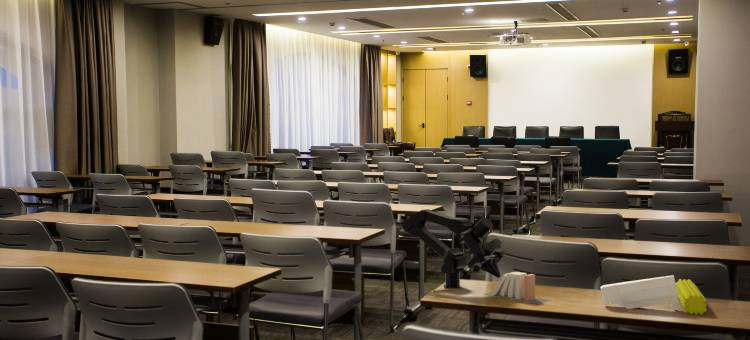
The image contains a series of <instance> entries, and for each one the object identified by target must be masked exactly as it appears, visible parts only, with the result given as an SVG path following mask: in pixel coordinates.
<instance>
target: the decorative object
mask: <svg viewBox="0 0 750 340" xmlns="http://www.w3.org/2000/svg"><path fill="white" fill-rule="evenodd" d="M675 283H676V287H677V292H678V299H679V303H681V305H682V307H683V308H684V310H685V312H687V313H688V314H689V315H700V316H703V314H704V313H706V312H707V299H706V298H705V296H704V295H703V293H702V292H701V291H700V290H699V288H698V287H697V285H696V284H695V283H694V282H693V281H692V280H691V279H681V278H679V279H678V280H677V282H676V281H675Z"/></svg>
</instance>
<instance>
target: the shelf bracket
mask: <svg viewBox="0 0 750 340" xmlns="http://www.w3.org/2000/svg"><path fill="white" fill-rule="evenodd" d="M600 293H601V297H602V303H603V304H604V305H605V306H609V305H618V306H620V307H622V306H623V307H624V308H625V309H627V310H633V309H638V308H644V307H650V306H658V305H663V304H665V303H667V302H670V306H671V307H672V308H673V309H674V310H676V311H678V312H682V311H681V305H680V300H679V298H678V292H677V287H676V280H675V275H674V274H673V275H666V276H658V277H652V278H651V277H650V278H644V279H638V280H629V281H623V282H616V283H610V284H603V285H601V286H600Z"/></svg>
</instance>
